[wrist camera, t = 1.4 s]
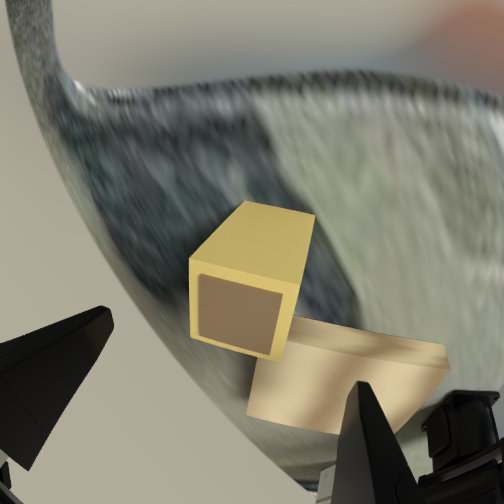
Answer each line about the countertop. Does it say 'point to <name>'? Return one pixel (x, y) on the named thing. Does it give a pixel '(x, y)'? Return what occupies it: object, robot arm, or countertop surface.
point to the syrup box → (325, 485)
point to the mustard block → (249, 279)
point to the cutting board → (343, 375)
